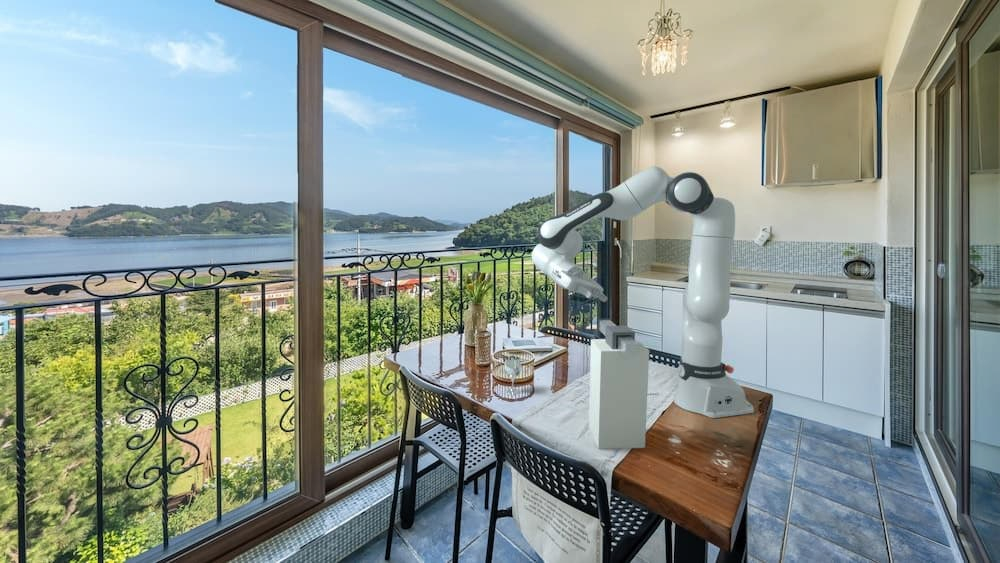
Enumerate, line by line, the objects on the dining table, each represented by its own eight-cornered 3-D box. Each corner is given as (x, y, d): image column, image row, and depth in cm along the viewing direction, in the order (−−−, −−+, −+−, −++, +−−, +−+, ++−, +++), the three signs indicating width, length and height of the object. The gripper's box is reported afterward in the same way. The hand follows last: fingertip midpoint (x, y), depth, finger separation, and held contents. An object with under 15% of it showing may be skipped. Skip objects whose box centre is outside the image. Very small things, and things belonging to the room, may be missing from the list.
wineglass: (519, 396, 133) (519, 361, 131) (503, 394, 134) (502, 360, 132) (522, 388, 138) (522, 355, 136) (506, 387, 139) (505, 355, 138)
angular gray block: (608, 329, 117) (608, 318, 116) (638, 356, 93) (638, 343, 93) (597, 329, 117) (597, 318, 116) (624, 356, 93) (625, 343, 93)
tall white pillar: (631, 427, 111) (635, 323, 107) (644, 447, 102) (650, 333, 97) (588, 428, 111) (591, 323, 107) (598, 448, 101) (601, 334, 97)
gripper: (555, 261, 123) (587, 284, 114) (588, 272, 138) (618, 294, 129) (545, 278, 125) (575, 302, 116) (578, 287, 140) (607, 309, 131)
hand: (598, 298), depth 123 cm, fingers open, 8 cm apart
